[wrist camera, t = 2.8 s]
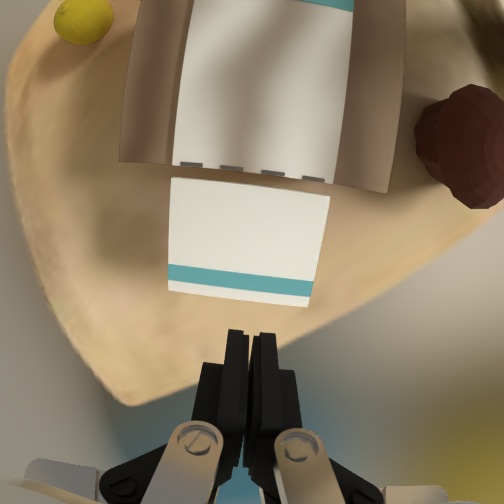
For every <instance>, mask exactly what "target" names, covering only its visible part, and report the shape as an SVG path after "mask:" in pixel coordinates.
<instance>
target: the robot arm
mask: <svg viewBox="0 0 504 504" xmlns="http://www.w3.org/2000/svg"><path fill="white" fill-rule="evenodd" d="M243 333H244V331H242V330H233V329H229V330H228V337H227V345H226V352H225V360H224V364H216V363H207V362H203V365H202V370H201V374H200V379H199V384H198V389H197V394H196V399H195V404H194V409H193V413H192V418H191V421H188V422H186V423H182V424H181V425H179V426H178V427H177V428H176V429H175V430H174V432H173V433H172V435H171V438H170V440H169V442H168V443H167V444H165V445H163V446H161V447H159V448H157V449H155V450H153V451H151V452H148V453H146V454H144V455H142V456H140V457H137V458H135V459H133V460H130V461H128V462H126V463H123V464H121V465H118V466H116V467H114V468H111V469H109V470H108V471H103V470H98V469H97V468H96V467H89V466H80V465H75V464H69V463H63V462H58V461H53V460H48V459H39V458H38V459H35V460H33V461H31V462H30V463H29V464H28V466H27V468H26V471H25V476H24V478H20V477H11V476H2V477H0V504H215V501H216V497H217V494H218V490H219V486H220V485H222V484H223V483H225V482H226V481H228V480H229V479H231V475H232V469H233V466H234V467H238V463H239V458H240V452H241V447H242V442H243V436H244V444H243V467H247V468H249V472H248V475H251V480H252V481H253V482H255V483H256V484H257V485H258V486H259V492H260V497H261V502H262V504H481V503H477V502H472V501H453V502H448V496H447V493H446V492H445V491H444V489H443V488H441V487H439V486H436V485H426V486H386V487H385V488H377V487H376V486H374V485H373V484H371V483H369V482H368V481H366V480H364V479H363V478H361V477H359V476H358V475H356V474H354V473H352V472H351V471H349V470H348V469H346V468H344V467H343V466H341V465H340V464H338V463H336V462H335V461H333V460H332V459H330V458H329V457H328V455H327V453H326V450H325V447H324V445H323V442H322V441H321V439H320V438H319V437H318V436H317V435H316V434H315V433H313V432H311V431H309V430H307V429H303V428H302V421H301V414H300V406H299V400H298V392H297V385H296V378H295V373H294V371H293V370H282V369H279V366H278V355H277V344H276V334H275V333H263V332H260V334H259V336H254V337H253V344H252V350H251V357H250V364H249V371H248V358H249V335H243Z"/></svg>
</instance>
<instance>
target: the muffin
mask: <svg viewBox="0 0 504 504" xmlns="http://www.w3.org/2000/svg"><path fill="white" fill-rule="evenodd" d="M414 131H415V136H416V142H417V156H418V157H419V158H420V160H421V161H422V162H423V163H424V165H425V166H426V168H427V170H428V172H429V174H430V175H431V176H432V177H434V178H435V179H437V180H438V181H440V182H441V183H442V184H444V185H445V186H447V187H448V188H449V189H450V191H451V193H452V195H453V197H455V198H456V199H458V200H459V201H460V202H462V203H463V204H465V205H466V206H467V207H469V208H470V209H488V208H490V207H491V206H494V205H496V204H497V203H498V202H499V201H501V200H502V199H503V198H504V102H503V101H502V100H501V99H500V98H499V97H498V96H497V95H496V94H495V93H493V92H492V91H491V90H490V89H488V88H484V87H481V86H477V85H473V84H469V85H467V86H465V87H463V88H460V89H458V90H456V91H454V92H453V93H452V94H451V95H450V97H449V98H447V99H445V100H442V101H440V102H438V103H435V104H433V105H430V106H428V107H426V108H424V110H423V113H422V115H421V118H420V120H419V122H418V123H417V125H416V127H415V128H414Z"/></svg>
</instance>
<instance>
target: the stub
mask: <svg viewBox="0 0 504 504" xmlns="http://www.w3.org/2000/svg"><path fill="white" fill-rule="evenodd" d="M329 202H330V196H329V195H324V194H318V193H311V192H305V191H298V190H291V189H284V188H276V187H269V186H261V185H253V184H244V183H235V182H226V181H217V180H206V179H195V178H184V177H172V178H171V190H170V211H169V247H168V290H170V291H177V292H184V293H191V294H198V295H205V296H213V297H221V298H228V299H236V300H245V301H253V302H262V303H271V304H281V305H290V306H300V307H307V306H308V302H309V298H310V295H311V291H312V287H313V281H314V276H315V272H316V267H317V263H318V258H319V253H320V248H321V244H322V239H323V234H324V229H325V224H326V218H327V213H328V208H329Z"/></svg>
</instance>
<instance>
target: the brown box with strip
mask: <svg viewBox="0 0 504 504" xmlns="http://www.w3.org/2000/svg"><path fill="white" fill-rule="evenodd" d="M405 33H406V2H405V0H141V4H140V8H139V12H138V16H137V21H136V26H135V30H134V35H133V41H132V46H131V52H130V57H129V64H128V70H127V77H126V84H125V92H124V101H123V110H122V121H121V133H120V149H119V162H140V163H159V164H172V165H176V166H189V167H201V168H212V169H223V170H232V171H242V172H250V173H259V174H267V175H274V176H282V177H289V178H296V179H302V180H309V181H315V182H321V183H327V184H339V185H344V186H350V187H355V188H361V189H366V190H371V191H376V192H381V193H386V194H387V190H388V185H389V180H390V174H391V169H392V163H393V157H394V151H395V145H396V138H397V131H398V123H399V115H400V107H401V97H402V87H403V75H404V59H405Z"/></svg>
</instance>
